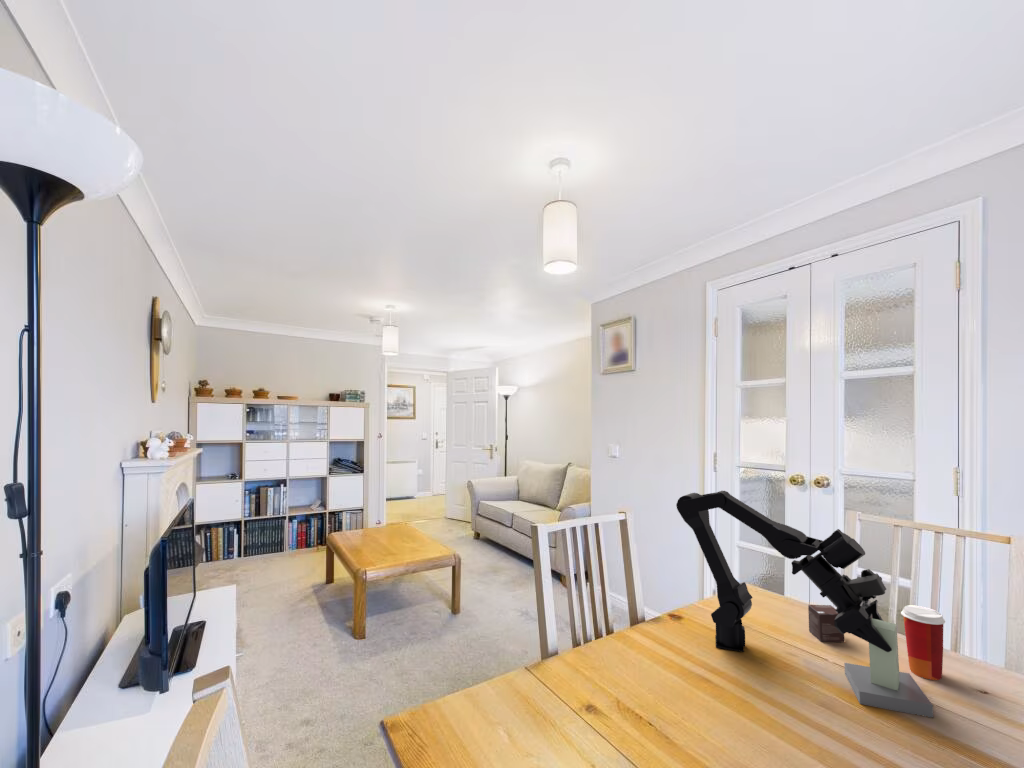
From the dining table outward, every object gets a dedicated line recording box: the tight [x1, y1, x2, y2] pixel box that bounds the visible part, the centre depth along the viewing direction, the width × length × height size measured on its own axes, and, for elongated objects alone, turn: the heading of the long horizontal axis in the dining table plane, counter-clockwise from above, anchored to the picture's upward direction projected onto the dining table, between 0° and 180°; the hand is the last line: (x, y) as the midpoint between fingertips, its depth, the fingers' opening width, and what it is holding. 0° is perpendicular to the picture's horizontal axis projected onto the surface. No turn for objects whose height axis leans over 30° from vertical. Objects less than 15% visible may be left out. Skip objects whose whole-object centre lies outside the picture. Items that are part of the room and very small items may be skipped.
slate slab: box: [844, 662, 934, 718], centre depth 102 cm, size 12×12×2 cm
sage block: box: [868, 618, 900, 691], centre depth 102 cm, size 4×4×12 cm
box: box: [807, 604, 845, 643], centre depth 127 cm, size 6×6×7 cm
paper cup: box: [900, 604, 946, 681], centre depth 110 cm, size 8×8×14 cm
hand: (891, 645), depth 101 cm, fingers open, 6 cm apart
